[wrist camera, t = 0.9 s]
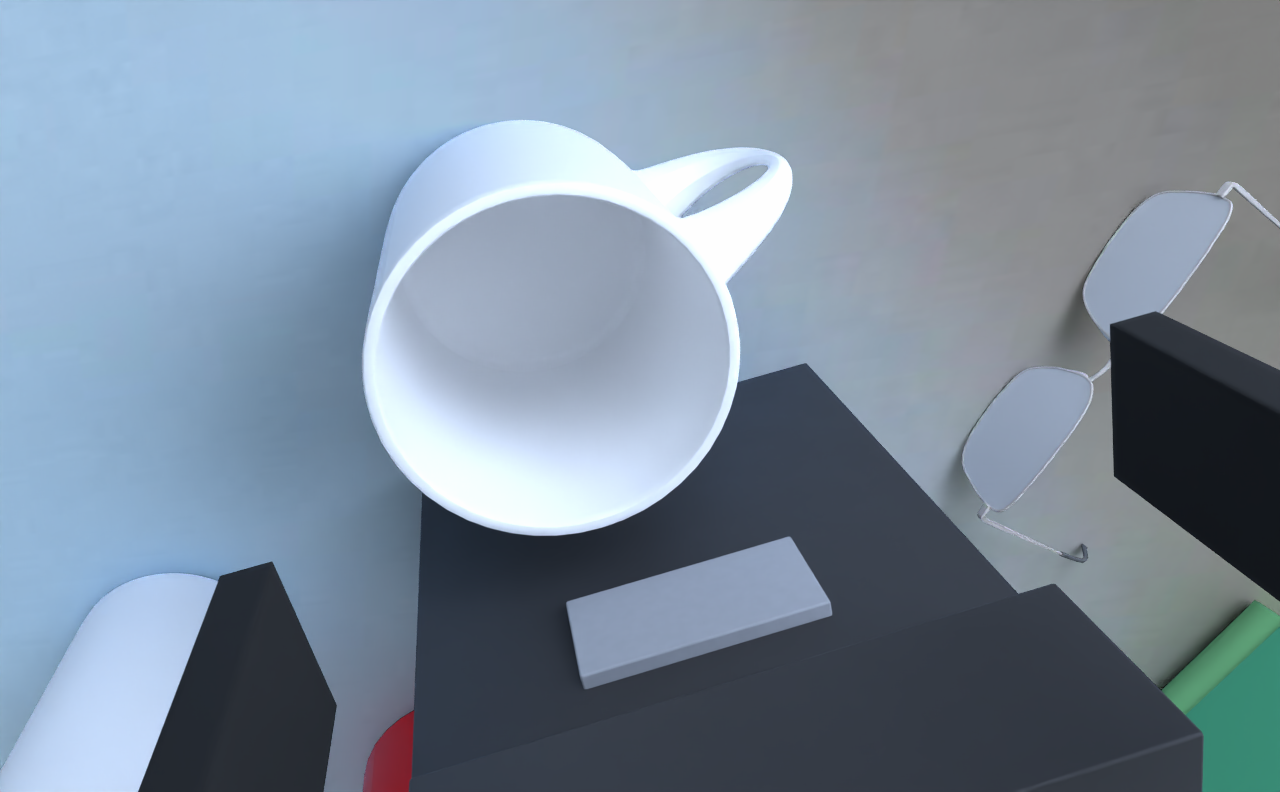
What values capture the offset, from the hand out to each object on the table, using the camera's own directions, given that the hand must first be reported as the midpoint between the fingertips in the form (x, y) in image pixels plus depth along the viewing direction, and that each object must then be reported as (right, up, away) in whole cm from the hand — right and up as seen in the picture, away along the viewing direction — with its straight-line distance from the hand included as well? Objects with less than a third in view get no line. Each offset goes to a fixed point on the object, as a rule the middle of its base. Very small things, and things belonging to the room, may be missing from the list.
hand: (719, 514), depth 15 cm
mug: (-4, +7, +17) cm, 19 cm away
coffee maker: (-2, 0, +20) cm, 21 cm away
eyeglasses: (+17, +3, +23) cm, 29 cm away
